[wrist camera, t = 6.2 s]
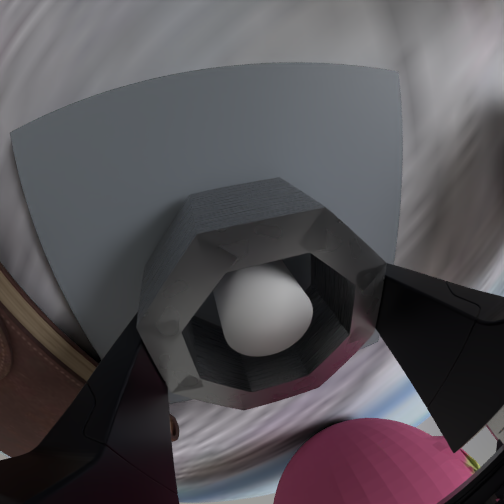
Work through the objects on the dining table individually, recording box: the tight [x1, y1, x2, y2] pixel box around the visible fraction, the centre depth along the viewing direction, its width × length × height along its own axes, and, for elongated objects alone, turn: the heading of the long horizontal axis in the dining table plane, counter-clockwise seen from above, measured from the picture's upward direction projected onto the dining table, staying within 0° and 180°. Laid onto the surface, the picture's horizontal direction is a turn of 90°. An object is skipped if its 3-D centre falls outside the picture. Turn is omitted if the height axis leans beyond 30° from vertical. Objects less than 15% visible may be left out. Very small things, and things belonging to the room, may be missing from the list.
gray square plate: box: [10, 63, 403, 404], centre depth 9 cm, size 14×14×4 cm
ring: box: [136, 177, 387, 410], centre depth 9 cm, size 7×7×3 cm
